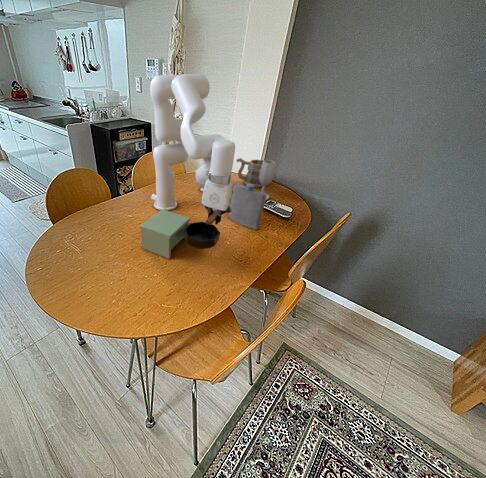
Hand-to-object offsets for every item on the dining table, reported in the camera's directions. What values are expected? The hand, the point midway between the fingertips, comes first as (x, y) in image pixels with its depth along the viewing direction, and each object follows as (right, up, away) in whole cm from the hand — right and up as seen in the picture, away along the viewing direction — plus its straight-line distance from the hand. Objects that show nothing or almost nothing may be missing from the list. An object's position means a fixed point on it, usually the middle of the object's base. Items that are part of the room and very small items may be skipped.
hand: (213, 221), depth 101 cm
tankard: (+32, +30, +66) cm, 80 cm away
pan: (-3, -4, -4) cm, 7 cm away
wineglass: (+35, +17, +48) cm, 62 cm away
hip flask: (+18, +1, +24) cm, 30 cm away
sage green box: (-19, -9, +9) cm, 23 cm away
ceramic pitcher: (+7, +23, +56) cm, 61 cm away
